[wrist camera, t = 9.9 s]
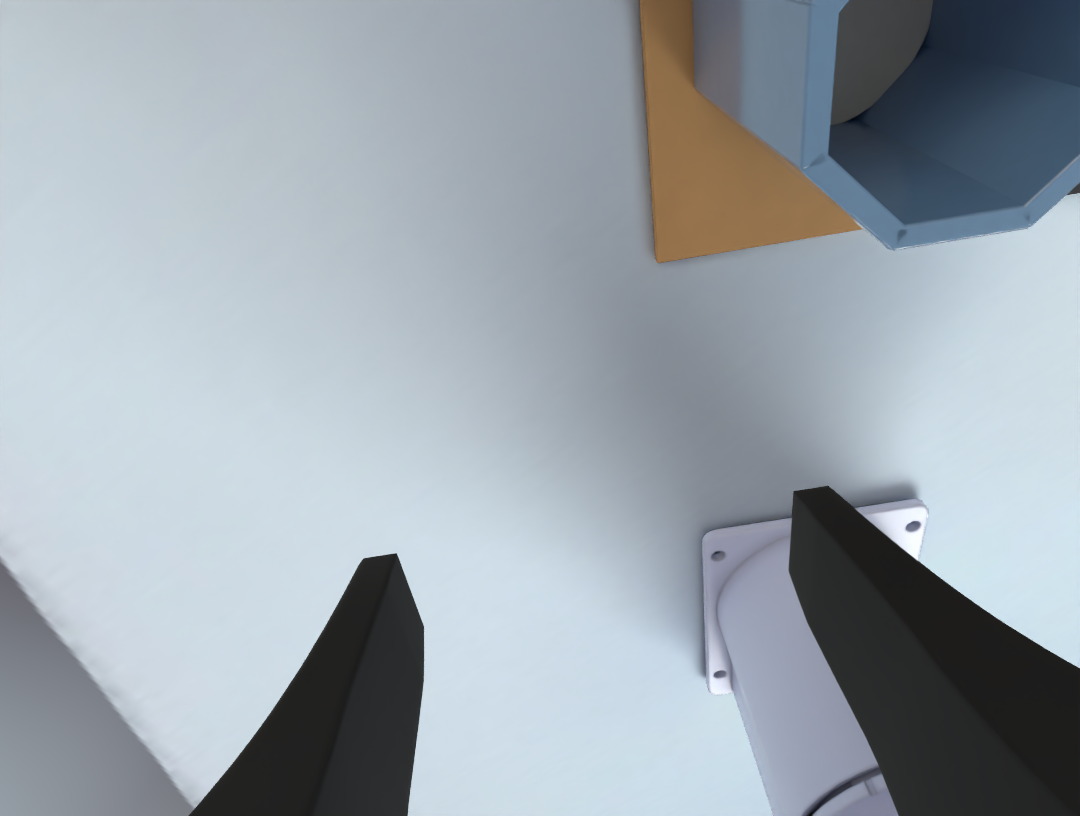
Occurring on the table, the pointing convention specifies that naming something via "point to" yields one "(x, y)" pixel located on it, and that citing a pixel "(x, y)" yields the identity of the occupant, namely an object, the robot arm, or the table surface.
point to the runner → (714, 160)
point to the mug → (905, 105)
